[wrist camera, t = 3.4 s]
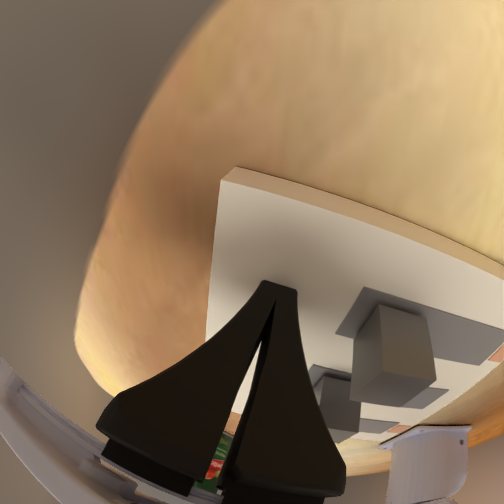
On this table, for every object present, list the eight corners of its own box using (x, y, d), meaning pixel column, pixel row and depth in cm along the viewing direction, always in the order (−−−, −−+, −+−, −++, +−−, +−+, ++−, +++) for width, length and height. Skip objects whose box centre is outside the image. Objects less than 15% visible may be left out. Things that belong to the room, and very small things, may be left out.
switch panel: (542, 288, 8) (552, 307, 7) (384, 428, 20) (383, 442, 19) (235, 166, 10) (219, 180, 9) (208, 387, 22) (202, 401, 21)
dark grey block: (426, 318, 9) (436, 380, 7) (397, 350, 11) (399, 407, 8) (378, 304, 9) (382, 370, 7) (353, 339, 11) (349, 399, 9)
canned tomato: (247, 441, 32) (224, 505, 23) (218, 441, 36) (196, 495, 28) (202, 419, 30) (172, 488, 21) (177, 420, 35) (151, 477, 26)
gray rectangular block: (362, 384, 13) (358, 432, 11) (344, 400, 14) (338, 443, 12) (324, 376, 13) (315, 425, 11) (309, 392, 15) (299, 436, 12)
